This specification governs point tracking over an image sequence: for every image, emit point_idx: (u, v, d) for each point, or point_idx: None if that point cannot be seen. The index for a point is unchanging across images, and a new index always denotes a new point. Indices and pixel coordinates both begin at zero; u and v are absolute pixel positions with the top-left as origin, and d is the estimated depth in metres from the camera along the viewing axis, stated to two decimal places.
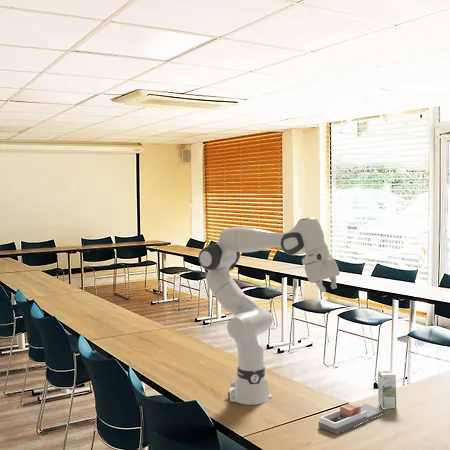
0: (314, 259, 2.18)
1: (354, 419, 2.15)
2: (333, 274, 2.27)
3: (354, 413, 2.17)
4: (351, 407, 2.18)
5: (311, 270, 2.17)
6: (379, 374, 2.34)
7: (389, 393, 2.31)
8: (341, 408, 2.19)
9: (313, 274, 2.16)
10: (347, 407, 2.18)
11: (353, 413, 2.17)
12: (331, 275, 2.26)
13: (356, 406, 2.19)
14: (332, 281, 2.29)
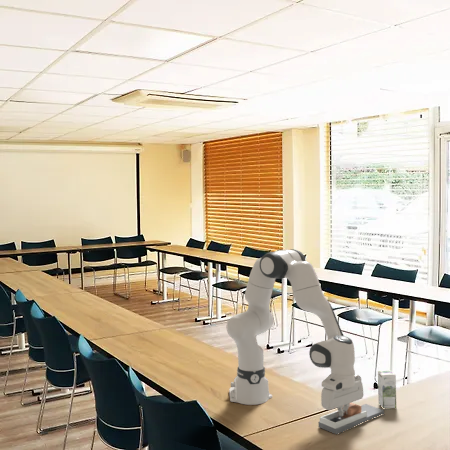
0: (332, 388, 2.09)
1: (354, 419, 2.15)
2: (353, 400, 2.18)
3: (355, 413, 2.18)
4: (352, 407, 2.18)
5: (326, 398, 2.10)
6: (379, 374, 2.34)
7: (389, 393, 2.31)
8: (342, 408, 2.19)
9: (327, 403, 2.10)
10: None
11: (354, 413, 2.17)
12: (350, 401, 2.17)
13: (357, 406, 2.20)
14: (344, 406, 2.18)
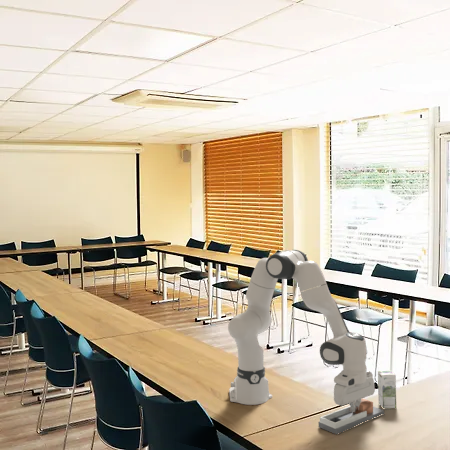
0: (345, 384, 2.13)
1: (354, 419, 2.15)
2: (365, 395, 2.22)
3: (367, 408, 2.22)
4: (364, 403, 2.23)
5: (339, 393, 2.14)
6: (379, 374, 2.34)
7: (389, 393, 2.31)
8: (354, 404, 2.24)
9: (340, 398, 2.14)
10: None
11: (366, 408, 2.21)
12: (362, 397, 2.21)
13: (368, 402, 2.24)
14: (356, 402, 2.22)
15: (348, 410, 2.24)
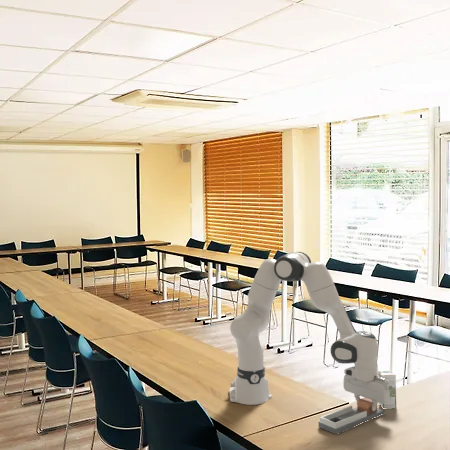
0: None
1: (354, 419, 2.15)
2: (371, 398, 2.21)
3: None
4: (368, 401, 2.25)
5: None
6: (379, 374, 2.34)
7: None
8: (358, 402, 2.26)
9: None
10: (364, 401, 2.25)
11: None
12: (367, 397, 2.22)
13: None
14: None
15: (348, 410, 2.24)
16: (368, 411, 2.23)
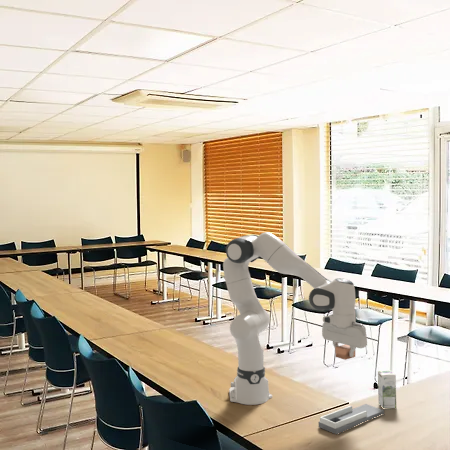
0: None
1: (354, 419, 2.15)
2: (349, 343, 2.21)
3: None
4: (346, 347, 2.25)
5: None
6: (379, 374, 2.34)
7: (389, 393, 2.31)
8: (336, 348, 2.26)
9: None
10: (342, 347, 2.25)
11: None
12: (345, 343, 2.23)
13: None
14: None
15: (348, 410, 2.24)
16: (346, 357, 2.23)
